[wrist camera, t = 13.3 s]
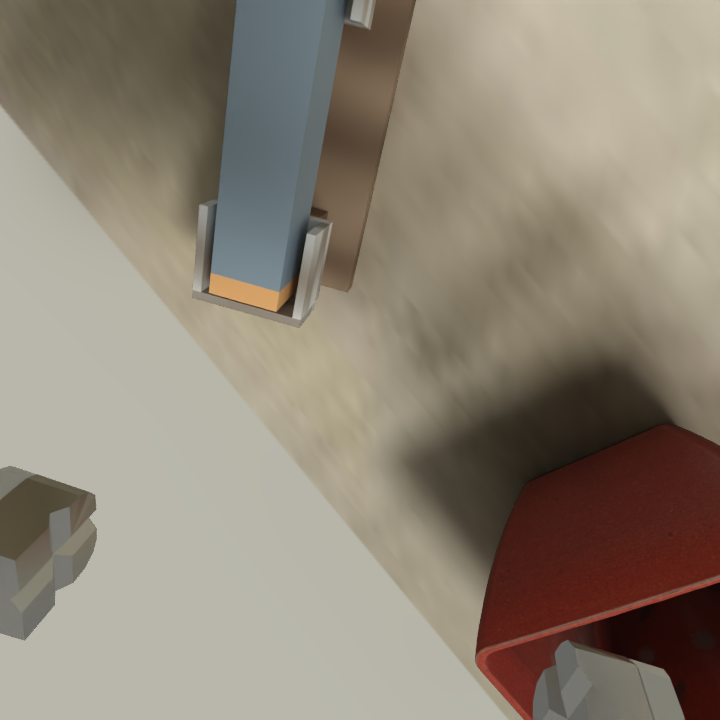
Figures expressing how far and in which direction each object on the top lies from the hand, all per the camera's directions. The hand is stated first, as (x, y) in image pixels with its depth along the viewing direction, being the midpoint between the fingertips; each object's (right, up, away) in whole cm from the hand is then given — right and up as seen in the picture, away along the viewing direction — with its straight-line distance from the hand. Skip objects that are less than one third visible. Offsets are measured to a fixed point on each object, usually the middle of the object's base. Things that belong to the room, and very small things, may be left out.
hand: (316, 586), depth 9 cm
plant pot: (+23, -8, +35) cm, 42 cm away
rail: (-3, +17, +20) cm, 26 cm away
